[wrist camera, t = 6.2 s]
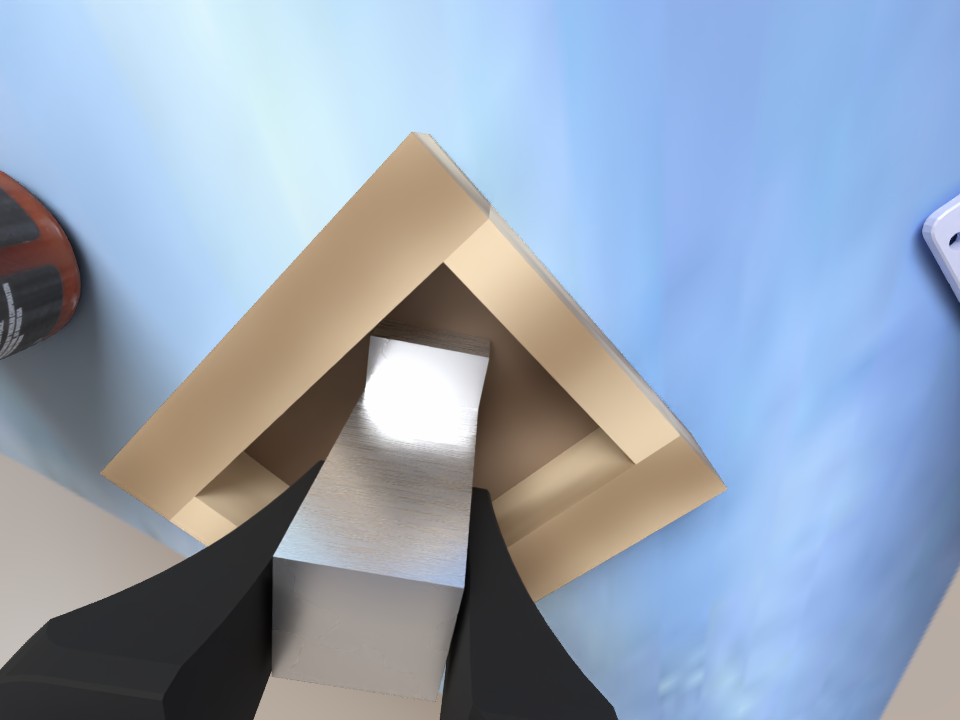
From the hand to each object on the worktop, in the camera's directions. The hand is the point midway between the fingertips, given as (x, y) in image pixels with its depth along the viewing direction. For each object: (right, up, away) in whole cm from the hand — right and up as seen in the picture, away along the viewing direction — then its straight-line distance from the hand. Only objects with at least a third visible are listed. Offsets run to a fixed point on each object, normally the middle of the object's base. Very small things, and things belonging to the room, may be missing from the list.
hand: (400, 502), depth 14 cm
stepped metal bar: (0, +2, +3) cm, 4 cm away
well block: (0, +2, +4) cm, 4 cm away
